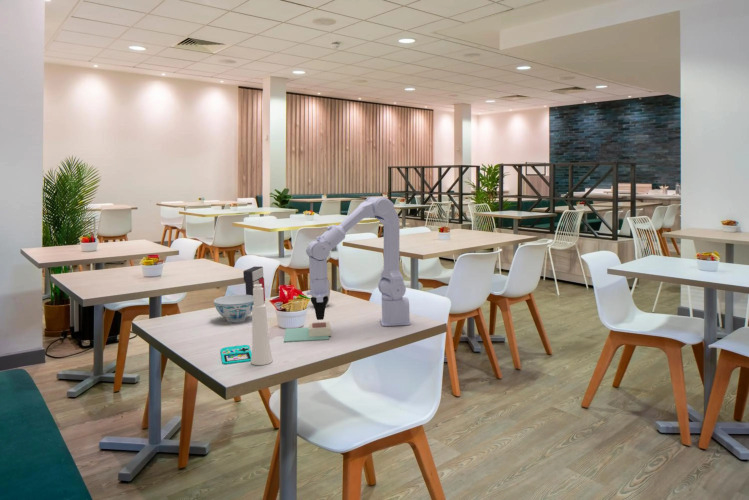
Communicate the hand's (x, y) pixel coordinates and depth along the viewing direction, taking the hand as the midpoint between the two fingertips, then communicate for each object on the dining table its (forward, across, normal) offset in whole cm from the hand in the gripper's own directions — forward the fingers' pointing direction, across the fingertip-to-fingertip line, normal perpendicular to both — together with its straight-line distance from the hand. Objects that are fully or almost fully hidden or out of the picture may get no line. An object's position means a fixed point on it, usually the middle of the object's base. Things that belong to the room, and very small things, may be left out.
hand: (320, 319), depth 177 cm
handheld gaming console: (+6, +16, -25) cm, 30 cm away
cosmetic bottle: (+5, +24, -17) cm, 30 cm away
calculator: (+5, -46, -25) cm, 53 cm away
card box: (+3, 0, +3) cm, 5 cm away
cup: (+5, -38, +1) cm, 38 cm away
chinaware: (+5, -24, -30) cm, 39 cm away
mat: (+5, 0, -5) cm, 7 cm away
